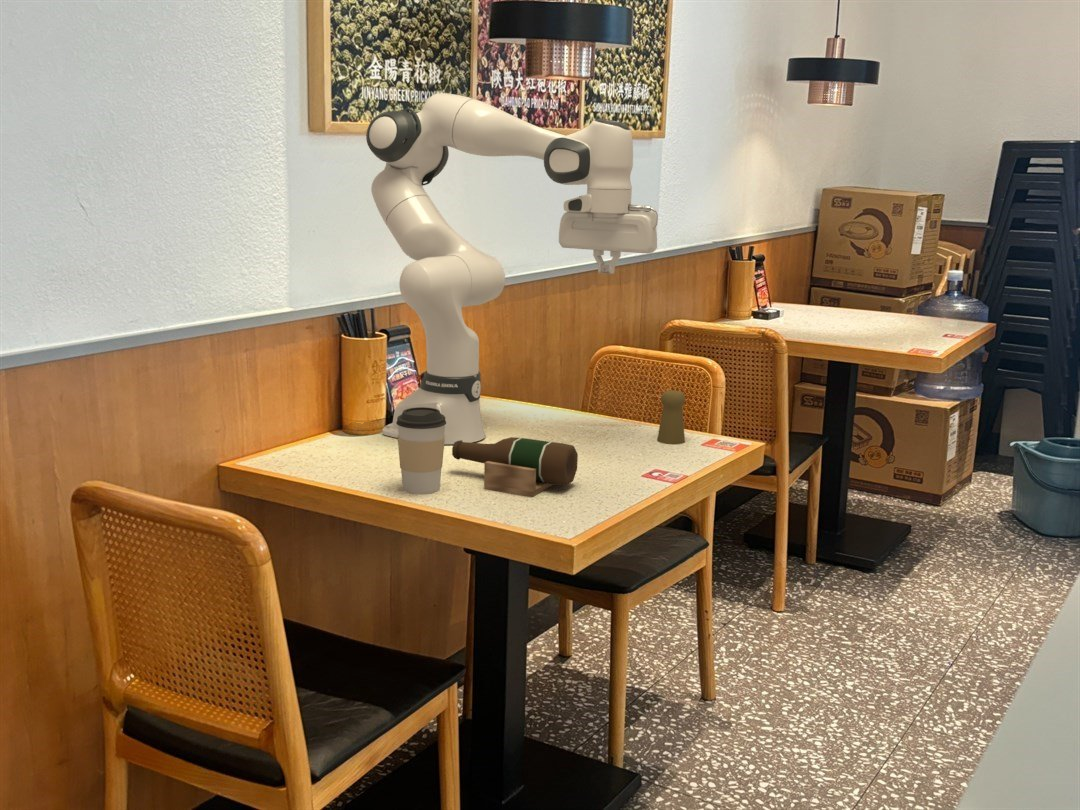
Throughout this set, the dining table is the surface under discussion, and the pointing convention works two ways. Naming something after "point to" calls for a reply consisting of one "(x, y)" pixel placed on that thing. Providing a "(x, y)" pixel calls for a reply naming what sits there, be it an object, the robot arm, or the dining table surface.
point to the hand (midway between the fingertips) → (606, 273)
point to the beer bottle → (525, 457)
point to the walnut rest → (512, 479)
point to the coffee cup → (421, 449)
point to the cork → (672, 418)
